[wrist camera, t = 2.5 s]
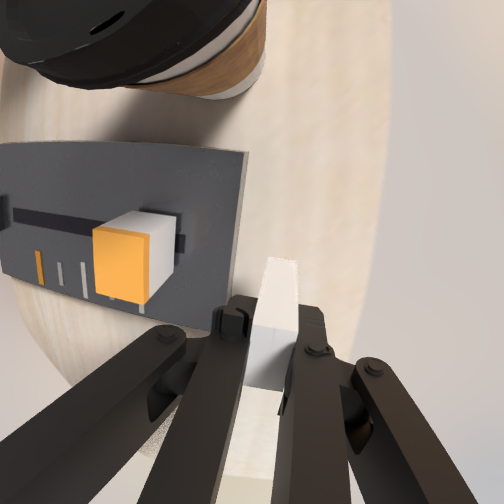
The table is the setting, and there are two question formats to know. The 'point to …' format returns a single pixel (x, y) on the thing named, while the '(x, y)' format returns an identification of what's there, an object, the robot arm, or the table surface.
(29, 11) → the coffee cup
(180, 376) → the robot arm
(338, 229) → the table surface
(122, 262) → the fader tab
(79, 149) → the panel
